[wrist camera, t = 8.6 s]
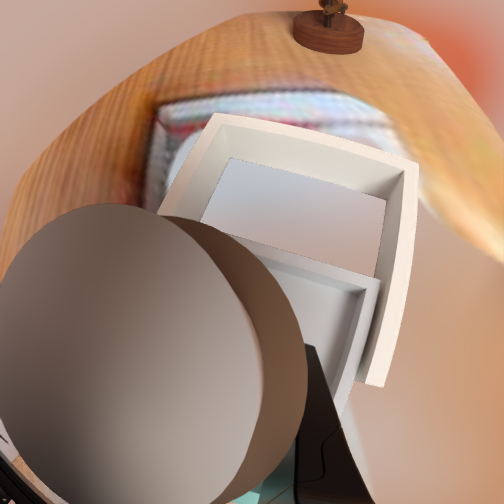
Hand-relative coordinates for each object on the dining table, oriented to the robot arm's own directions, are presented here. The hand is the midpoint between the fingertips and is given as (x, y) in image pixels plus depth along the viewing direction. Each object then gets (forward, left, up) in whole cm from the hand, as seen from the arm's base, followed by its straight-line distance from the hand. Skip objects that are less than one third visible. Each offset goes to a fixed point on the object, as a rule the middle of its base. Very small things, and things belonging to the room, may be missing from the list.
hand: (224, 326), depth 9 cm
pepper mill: (-1, -1, -7) cm, 7 cm away
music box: (+34, +23, -11) cm, 43 cm away
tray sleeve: (+6, +4, -11) cm, 13 cm away
